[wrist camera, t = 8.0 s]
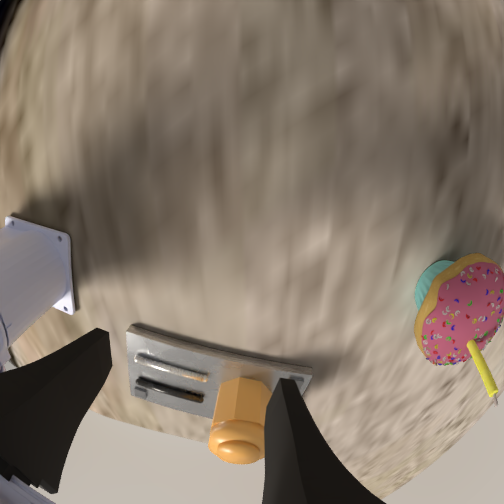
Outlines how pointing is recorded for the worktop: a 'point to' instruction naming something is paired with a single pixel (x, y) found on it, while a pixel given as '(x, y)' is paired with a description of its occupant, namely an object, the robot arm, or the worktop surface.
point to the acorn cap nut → (239, 421)
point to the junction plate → (195, 371)
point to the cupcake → (460, 312)
